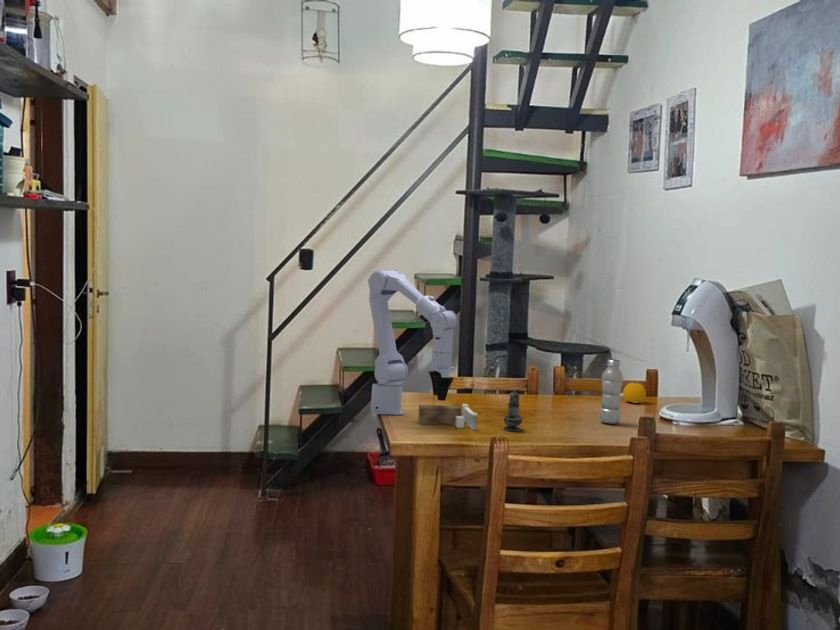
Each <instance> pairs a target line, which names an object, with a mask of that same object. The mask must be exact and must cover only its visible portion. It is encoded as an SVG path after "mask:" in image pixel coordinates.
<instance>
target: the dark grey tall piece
mask: <svg viewBox="0 0 840 630" xmlns="http://www.w3.org/2000/svg"><path fill="white" fill-rule="evenodd" d="M507 405H508V410H507V414H506V415H503V416H502V418H503V421H504V424H505V425H506V426H504V427H503V428H502V429H503V430H504V431H505V432H506V431H507V432H512V433H513V432H515V433H516V432H517V433H518V432H521V431H522V429H521V428H520V427H519V426H521V424H522V422H523V420H524V417H523V416H521V415H520V412H519V409H520V406H521V404H520V393H518V392H517V390H516V389H515V388H514V389H513V391H512V392H510V393H509V401H508V404H507Z"/></svg>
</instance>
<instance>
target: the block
mask: <svg viewBox="0 0 840 630" xmlns="http://www.w3.org/2000/svg"><path fill="white" fill-rule="evenodd" d="M456 416H462V407H461V406H459V405H427V404H420V405H419V404H418V419H417V420H418V421H417V422H418V424H419V423H420V424H419V425H423V424H445V425H444V426H455V420H456ZM446 424H447V425H446ZM449 424H450V425H449Z"/></svg>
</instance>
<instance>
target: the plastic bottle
mask: <svg viewBox="0 0 840 630" xmlns="http://www.w3.org/2000/svg"><path fill="white" fill-rule="evenodd" d="M606 365H607V367H606V368H605V370H604V371H603V372H602V373H601V383H602V384H601V385H602V396H601V397H602V398H601V404H600V407H599V412H598V417H599V421H600V422H602V423H604V424H607V423H610V424H609V425H615V424H619V422H620V420H621V415H622V414H621V408H620V407H621V403H620V402H621V401H620V399H621V390H622V386H623V381H624V376H623V373H622V371H621V369H620V368H619V367H620V365H621V361H620V359H616V358H615V359H614V358H609V359H607V363H606Z"/></svg>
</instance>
